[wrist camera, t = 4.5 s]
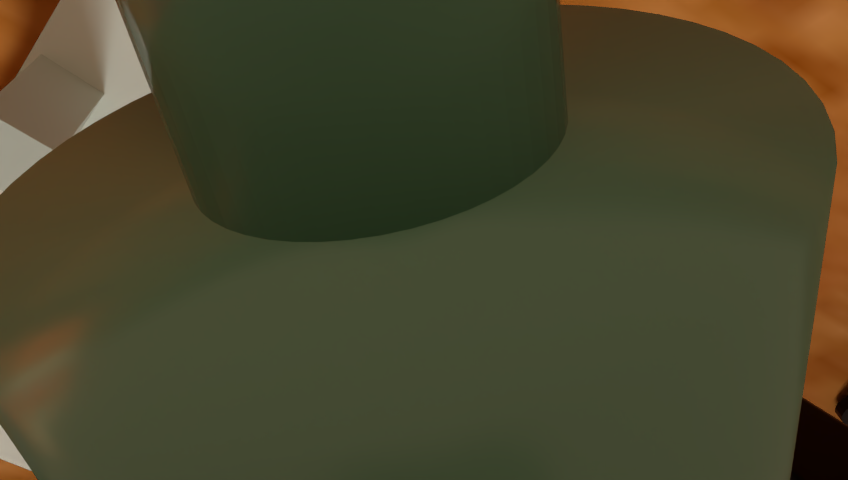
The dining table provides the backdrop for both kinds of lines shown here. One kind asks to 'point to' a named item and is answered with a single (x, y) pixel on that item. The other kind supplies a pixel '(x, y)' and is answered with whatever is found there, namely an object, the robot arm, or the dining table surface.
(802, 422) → the robot arm
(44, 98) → the white four-legged tray
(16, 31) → the dining table surface
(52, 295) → the bottle
